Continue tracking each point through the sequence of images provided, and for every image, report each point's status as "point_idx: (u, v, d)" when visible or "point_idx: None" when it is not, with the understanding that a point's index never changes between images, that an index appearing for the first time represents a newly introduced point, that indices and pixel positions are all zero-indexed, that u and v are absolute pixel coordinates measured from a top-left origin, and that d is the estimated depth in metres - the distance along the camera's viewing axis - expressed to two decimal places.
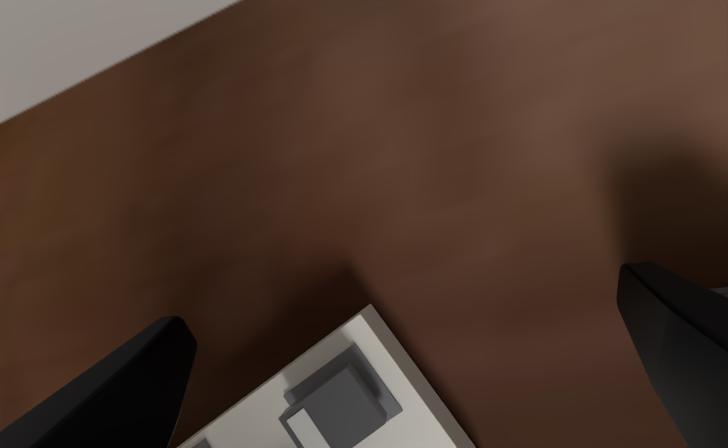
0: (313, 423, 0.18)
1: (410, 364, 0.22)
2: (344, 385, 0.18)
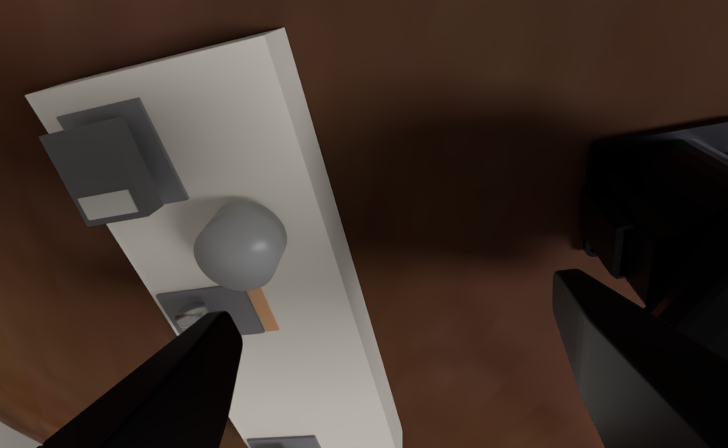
0: (93, 196, 0.17)
1: (133, 66, 0.18)
2: (57, 147, 0.16)
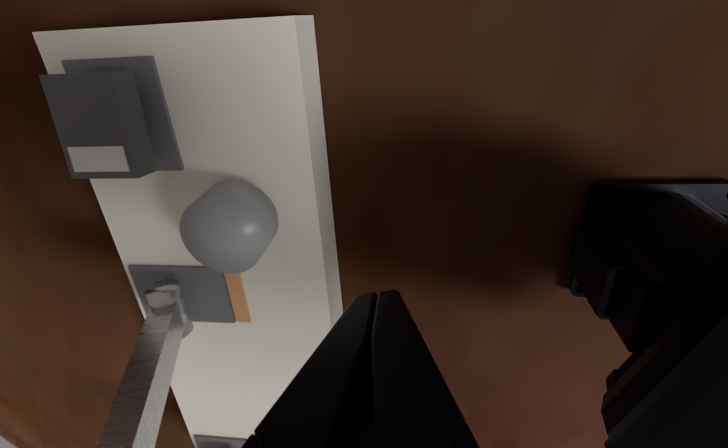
0: (84, 147, 0.16)
1: None
2: (57, 89, 0.15)
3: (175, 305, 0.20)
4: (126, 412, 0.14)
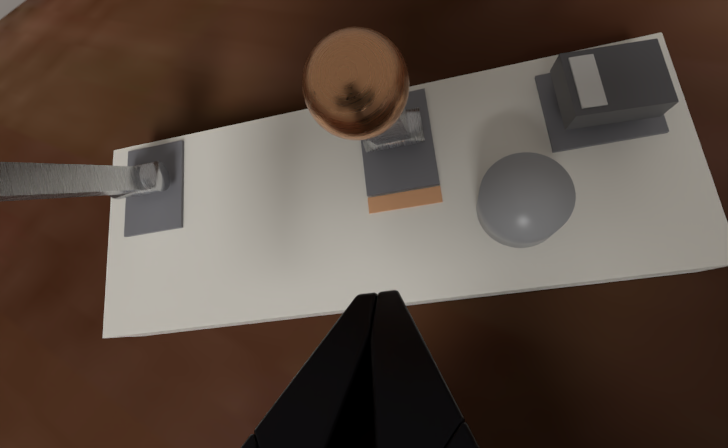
0: (597, 69, 0.17)
1: None
2: (647, 52, 0.17)
3: (409, 138, 0.18)
4: None
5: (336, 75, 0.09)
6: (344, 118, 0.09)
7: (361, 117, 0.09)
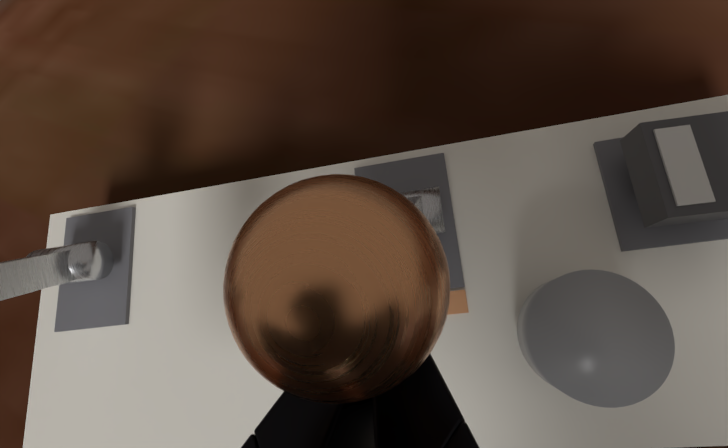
0: (697, 149, 0.12)
1: None
2: None
3: None
4: None
5: (285, 321, 0.04)
6: (307, 394, 0.04)
7: (345, 396, 0.04)
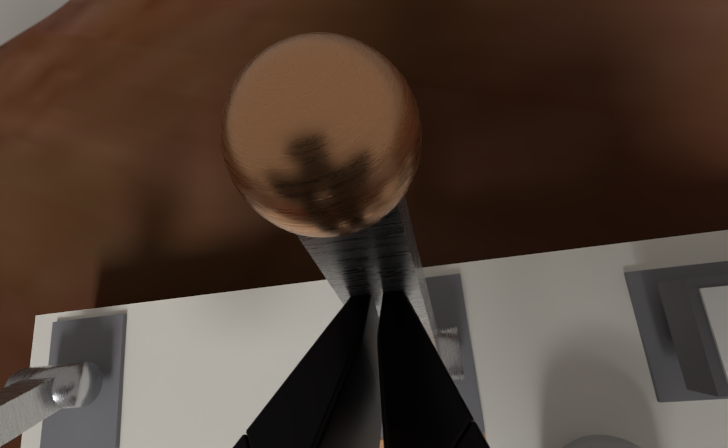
0: None
1: None
2: None
3: None
4: (411, 239, 0.07)
5: (271, 62, 0.04)
6: (270, 138, 0.04)
7: (305, 136, 0.04)
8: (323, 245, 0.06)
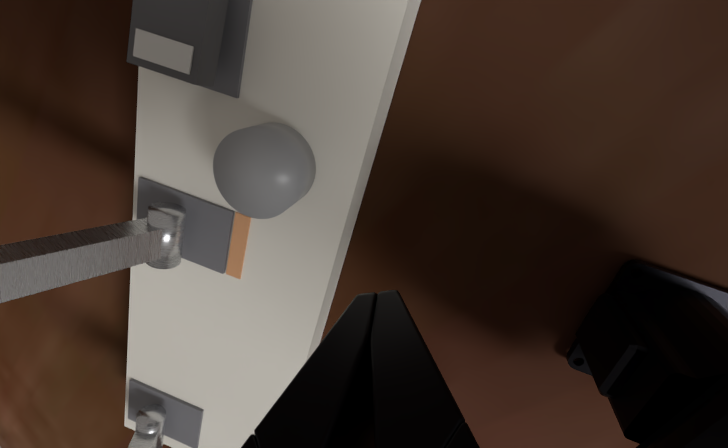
0: (154, 34, 0.15)
1: None
2: None
3: (156, 231, 0.18)
4: None
5: None
6: None
7: None
8: None
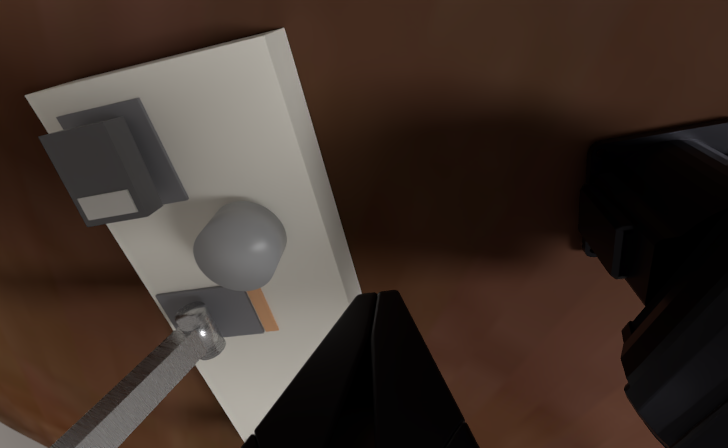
0: (93, 196, 0.17)
1: (133, 66, 0.18)
2: (57, 147, 0.16)
3: (191, 334, 0.20)
4: (70, 439, 0.16)
5: None
6: None
7: None
8: None
